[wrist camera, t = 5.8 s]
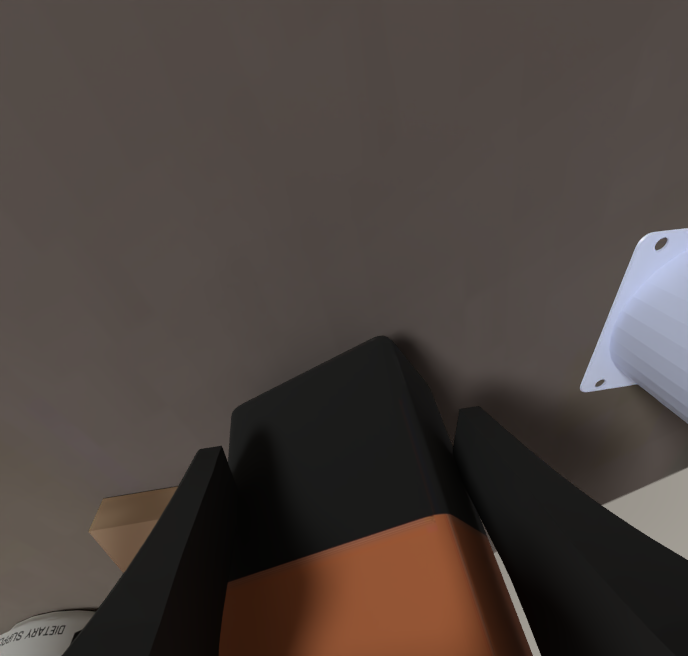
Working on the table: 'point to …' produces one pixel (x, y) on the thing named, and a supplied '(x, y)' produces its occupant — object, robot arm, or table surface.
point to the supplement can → (44, 634)
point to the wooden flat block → (128, 523)
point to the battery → (358, 523)
